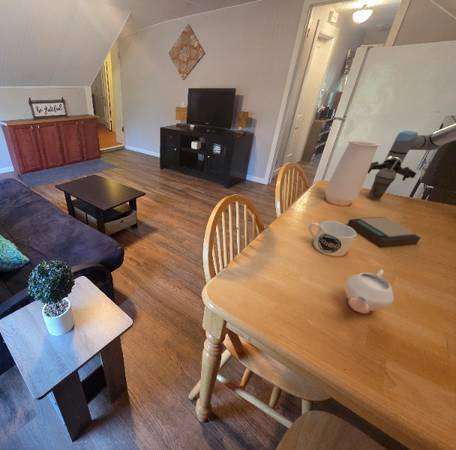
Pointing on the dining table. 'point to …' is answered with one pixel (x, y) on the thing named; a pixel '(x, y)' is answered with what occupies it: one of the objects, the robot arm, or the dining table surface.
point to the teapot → (368, 292)
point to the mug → (333, 237)
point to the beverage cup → (382, 182)
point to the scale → (383, 232)
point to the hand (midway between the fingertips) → (386, 174)
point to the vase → (351, 172)
